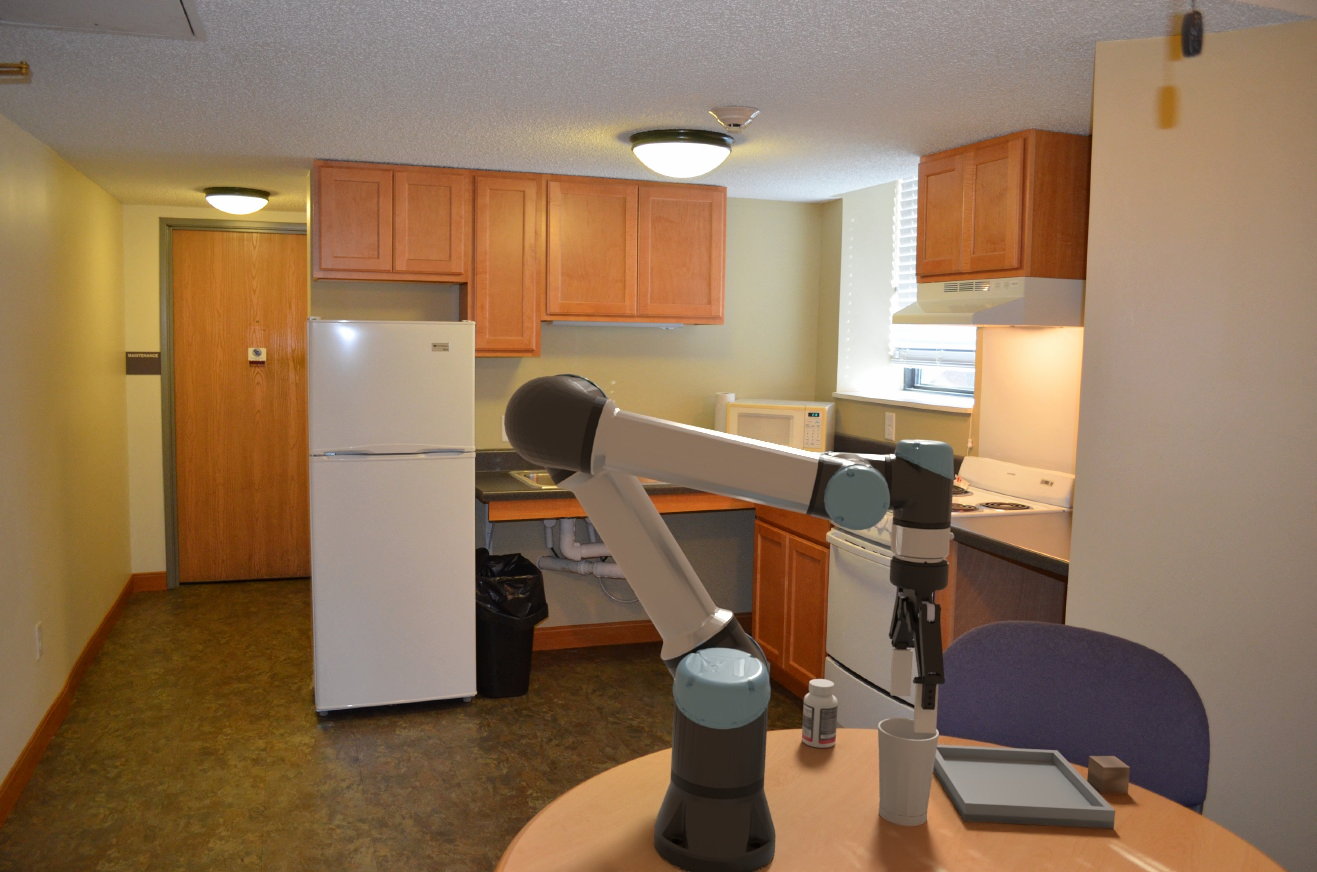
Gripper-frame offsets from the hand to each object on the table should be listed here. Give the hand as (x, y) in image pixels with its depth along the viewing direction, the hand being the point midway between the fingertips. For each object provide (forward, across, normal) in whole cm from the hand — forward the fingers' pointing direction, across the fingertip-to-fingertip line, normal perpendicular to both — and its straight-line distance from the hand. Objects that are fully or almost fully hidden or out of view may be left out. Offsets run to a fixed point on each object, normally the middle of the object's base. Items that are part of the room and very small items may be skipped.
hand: (911, 712), depth 130 cm
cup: (+14, 0, 0) cm, 15 cm away
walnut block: (+15, +12, -32) cm, 38 cm away
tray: (+14, +9, -18) cm, 24 cm away
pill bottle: (+14, +24, +8) cm, 29 cm away
